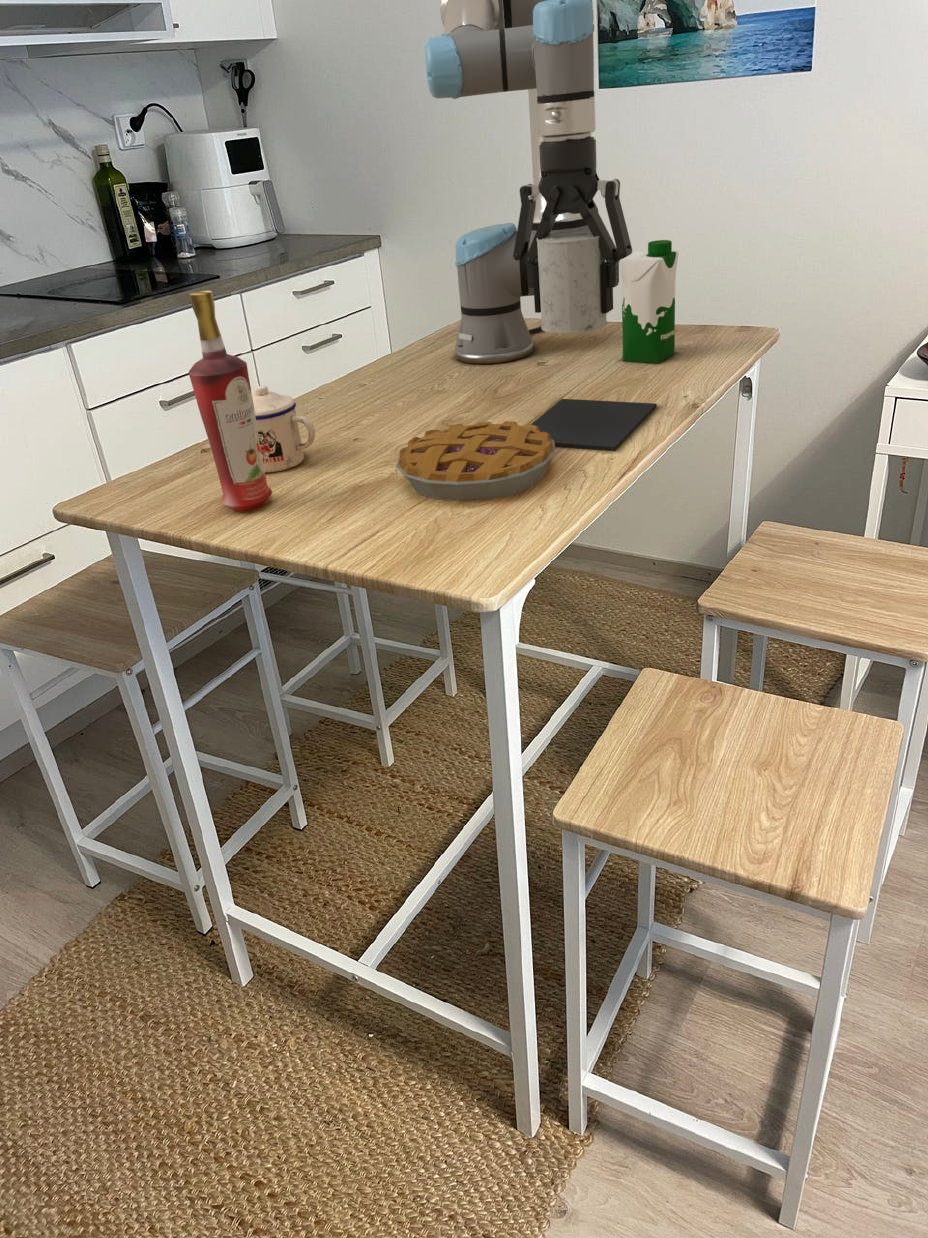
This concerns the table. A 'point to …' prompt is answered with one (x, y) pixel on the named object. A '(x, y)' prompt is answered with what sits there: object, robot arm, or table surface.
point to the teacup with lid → (279, 430)
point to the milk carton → (649, 303)
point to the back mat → (592, 422)
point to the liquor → (227, 413)
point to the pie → (476, 460)
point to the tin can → (570, 282)
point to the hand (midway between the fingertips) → (573, 310)
